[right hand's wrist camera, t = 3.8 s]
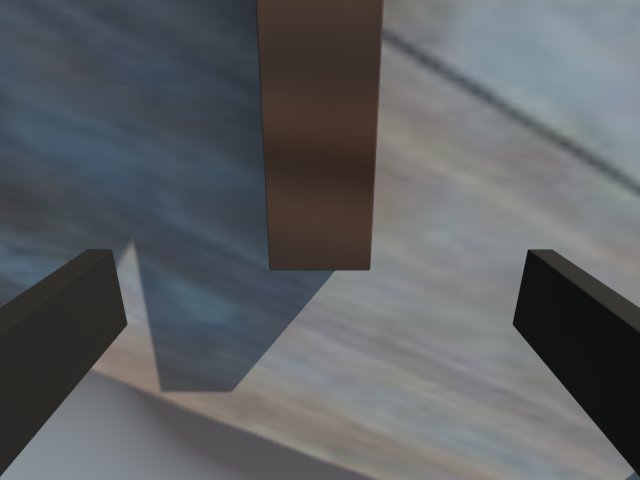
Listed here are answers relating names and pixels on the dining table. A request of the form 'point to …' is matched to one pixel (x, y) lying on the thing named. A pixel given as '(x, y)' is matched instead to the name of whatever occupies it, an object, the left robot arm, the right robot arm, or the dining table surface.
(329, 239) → the plank
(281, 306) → the dining table surface
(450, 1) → the dining table surface
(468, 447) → the dining table surface
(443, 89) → the dining table surface
